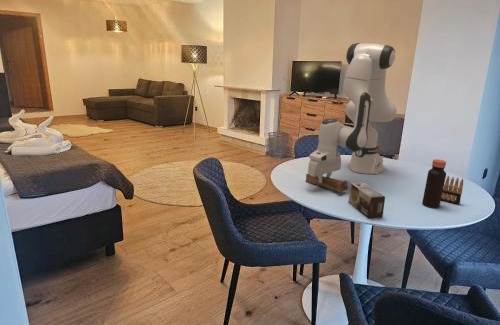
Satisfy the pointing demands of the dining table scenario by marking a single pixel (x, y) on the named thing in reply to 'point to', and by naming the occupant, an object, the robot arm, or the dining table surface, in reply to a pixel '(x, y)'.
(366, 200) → the coffee box
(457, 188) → the ammunition clip
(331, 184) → the walnut pusher
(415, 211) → the dining table surface
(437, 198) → the bottle
